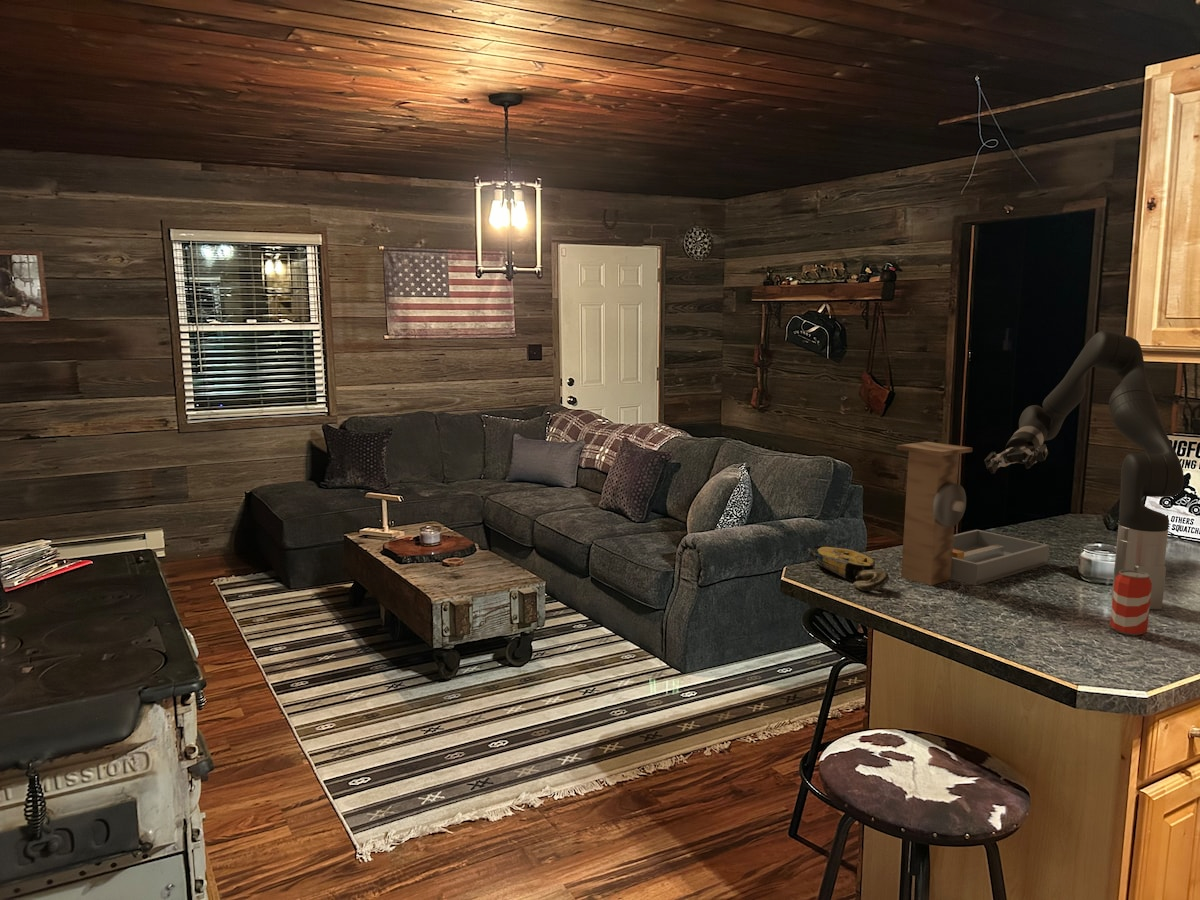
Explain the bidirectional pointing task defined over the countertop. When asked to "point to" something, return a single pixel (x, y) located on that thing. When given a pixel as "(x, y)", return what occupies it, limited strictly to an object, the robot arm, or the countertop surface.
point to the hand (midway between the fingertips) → (1008, 467)
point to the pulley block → (851, 566)
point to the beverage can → (1131, 602)
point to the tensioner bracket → (931, 510)
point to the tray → (1014, 561)
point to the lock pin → (979, 553)
